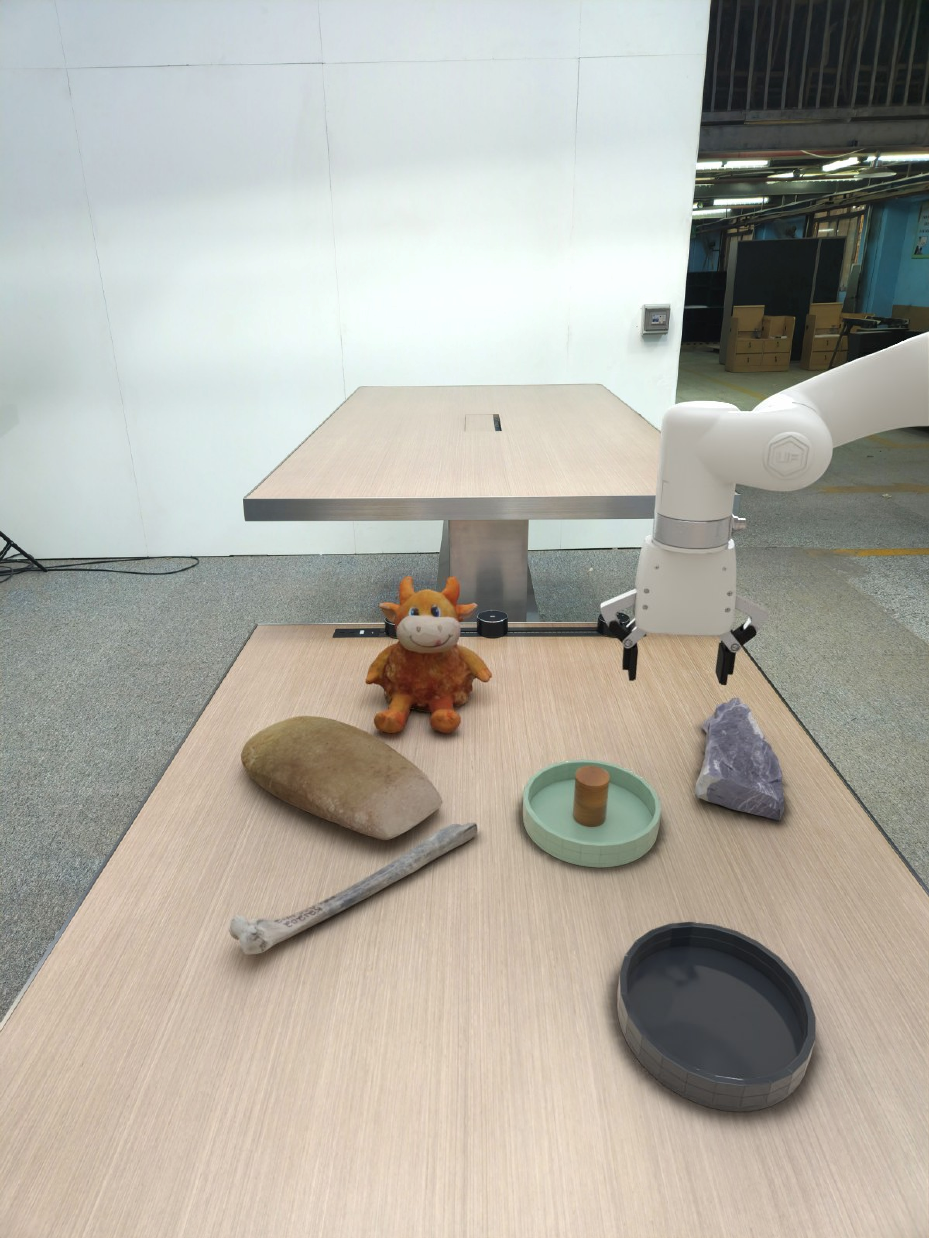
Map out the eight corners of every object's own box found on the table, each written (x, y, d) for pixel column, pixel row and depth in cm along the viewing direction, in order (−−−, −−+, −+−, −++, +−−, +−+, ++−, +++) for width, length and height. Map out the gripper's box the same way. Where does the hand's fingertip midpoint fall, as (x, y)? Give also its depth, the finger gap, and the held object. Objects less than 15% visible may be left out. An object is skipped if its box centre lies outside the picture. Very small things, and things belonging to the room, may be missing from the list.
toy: (333, 723, 105) (363, 555, 111) (379, 742, 125) (401, 600, 132) (467, 738, 101) (489, 563, 107) (491, 755, 121) (508, 608, 128)
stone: (372, 830, 81) (376, 872, 83) (460, 764, 91) (462, 804, 94) (211, 736, 98) (218, 773, 101) (300, 690, 109) (305, 725, 111)
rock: (785, 828, 90) (792, 793, 87) (692, 810, 93) (697, 776, 91) (777, 721, 111) (783, 691, 109) (701, 710, 114) (706, 680, 112)
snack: (611, 814, 91) (615, 773, 89) (595, 831, 88) (599, 790, 86) (583, 801, 93) (586, 761, 91) (566, 817, 91) (568, 777, 88)
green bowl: (680, 812, 92) (683, 791, 91) (617, 889, 81) (619, 866, 79) (567, 764, 102) (568, 745, 100) (496, 827, 90) (496, 806, 89)
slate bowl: (831, 1006, 68) (838, 981, 66) (772, 1156, 56) (779, 1129, 55) (664, 919, 77) (667, 896, 76) (583, 1033, 65) (586, 1007, 64)
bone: (459, 823, 91) (459, 790, 89) (483, 842, 88) (483, 808, 86) (230, 948, 74) (223, 910, 72) (249, 977, 71) (243, 939, 69)
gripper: (771, 519, 78) (750, 665, 85) (603, 517, 81) (596, 658, 88) (789, 542, 71) (764, 698, 78) (605, 538, 74) (597, 690, 81)
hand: (675, 677), depth 83 cm, fingers open, 9 cm apart
